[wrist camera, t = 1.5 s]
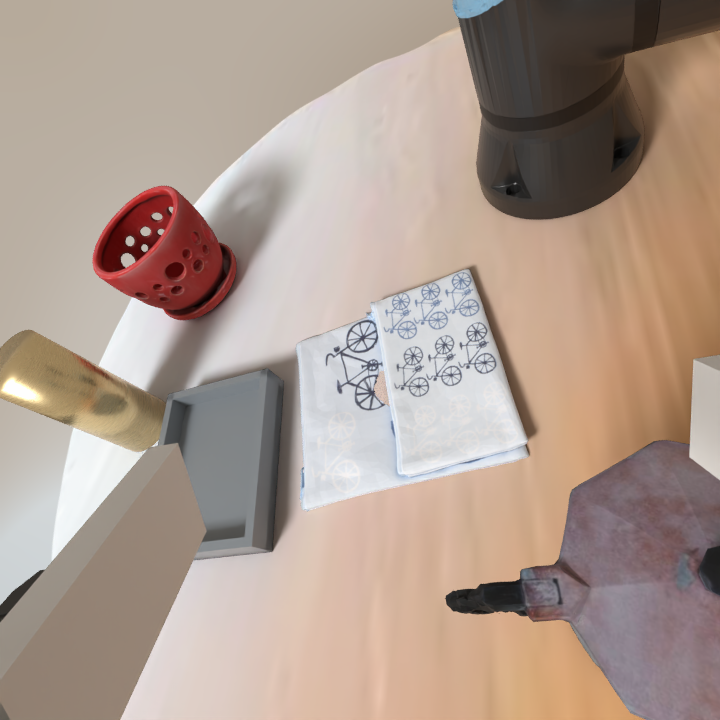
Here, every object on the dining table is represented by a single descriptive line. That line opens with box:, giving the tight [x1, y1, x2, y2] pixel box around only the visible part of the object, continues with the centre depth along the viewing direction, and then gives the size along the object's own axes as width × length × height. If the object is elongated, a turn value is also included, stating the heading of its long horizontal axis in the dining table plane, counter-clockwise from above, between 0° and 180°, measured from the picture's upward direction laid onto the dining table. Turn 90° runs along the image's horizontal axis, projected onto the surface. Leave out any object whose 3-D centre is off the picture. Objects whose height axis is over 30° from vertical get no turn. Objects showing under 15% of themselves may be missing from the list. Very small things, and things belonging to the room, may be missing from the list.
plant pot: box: [93, 186, 236, 320], centre depth 58 cm, size 13×13×12 cm
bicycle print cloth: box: [296, 269, 529, 511], centre depth 44 cm, size 19×20×2 cm
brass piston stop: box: [0, 330, 166, 452], centre depth 49 cm, size 6×6×16 cm
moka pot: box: [445, 440, 720, 720], centre depth 21 cm, size 10×15×20 cm, turn 98°
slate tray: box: [158, 368, 284, 560], centre depth 46 cm, size 17×13×3 cm
